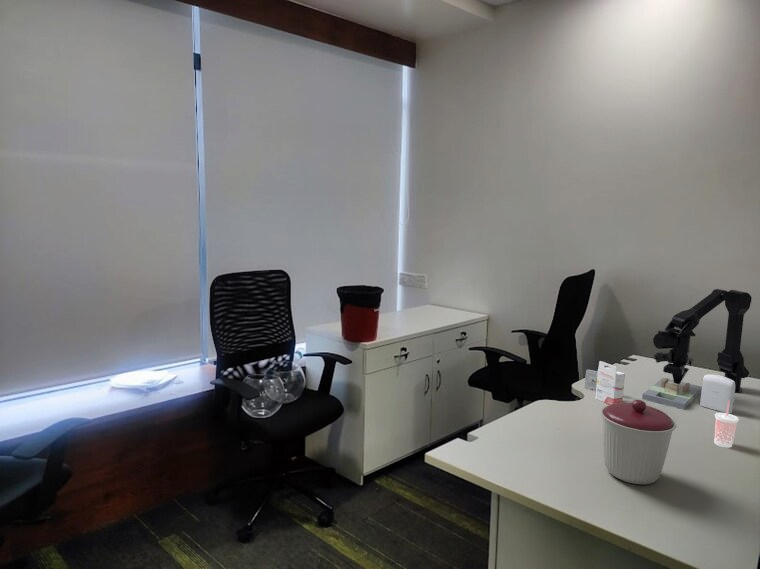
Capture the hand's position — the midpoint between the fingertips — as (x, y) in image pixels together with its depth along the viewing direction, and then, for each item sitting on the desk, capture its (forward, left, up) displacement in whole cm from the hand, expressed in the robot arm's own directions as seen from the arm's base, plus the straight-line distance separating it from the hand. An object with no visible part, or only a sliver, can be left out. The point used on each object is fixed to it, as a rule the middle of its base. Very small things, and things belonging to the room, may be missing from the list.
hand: (676, 386), depth 206 cm
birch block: (+6, 0, -1) cm, 6 cm away
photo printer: (+7, +15, -3) cm, 17 cm away
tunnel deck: (+4, 0, -3) cm, 4 cm away
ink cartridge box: (+29, -15, -3) cm, 32 cm away
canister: (+79, +9, -3) cm, 79 cm away
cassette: (+21, -21, -3) cm, 30 cm away
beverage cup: (+39, +23, -3) cm, 45 cm away
